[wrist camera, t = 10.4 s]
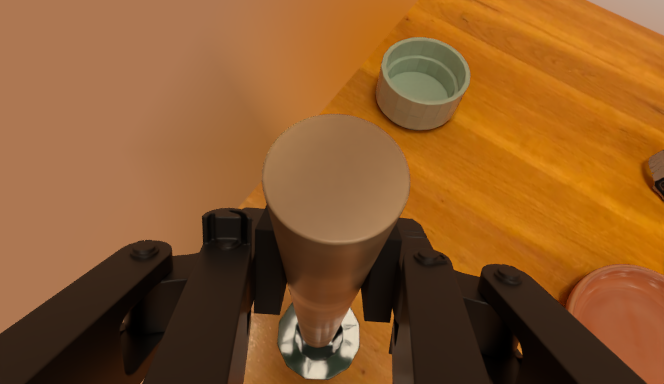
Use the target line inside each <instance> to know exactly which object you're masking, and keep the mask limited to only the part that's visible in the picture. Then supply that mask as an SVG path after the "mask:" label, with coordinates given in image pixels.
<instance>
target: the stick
mask: <svg viewBox="0 0 664 384" xmlns="http://www.w3.org/2000/svg"><path fill="white" fill-rule="evenodd" d="M262 186H263V191H264V195H265V199H266V203H267V207H268V210H269V214H270V218H271V222H272V226H273V229H274V233H275V237H276V241H277V245H278V248H279V252H280V256H281V260H282V264H283V267H284V271H285V275H286V279H287V283H288V286H289V290H290V294H291V298H292V302H293V305H294V309H295V313H296V317H297V321H298V324H299V328H300V332H301V336H302V338H303V340H304V341H305V342H306V343H307V344H308V345H310V346H312V347H316V348H320V347H324V346H326V345H328V344H329V343H330V342H331V341H332V339H333V338H334V336H335V334H336V332H337V330H338V328H339V327H340V325H341V323H342V321H343V319H344V317H345V316H346V314H347V312H348V310H349V308H350V306H351V305H352V303H353V301H354V299H355V297H356V295H357V294H358V292H359V290H360V288H361V286H362V284H363V283H364V281H365V279H366V277H367V275H368V273H369V272H370V270H371V268H372V266H373V264H374V262H375V261H376V259H377V257H378V255H379V253H380V251H381V250H382V248H383V246H384V244H385V242H386V240H387V239H388V237H389V235H390V233H391V231H392V230H393V228H394V226H395V224H396V222H397V220H398V219H399V217H400V215H401V213H402V211H403V209H404V207H405V205H406V203H407V199H408V196H409V191H410V173H409V168H408V165H407V161H406V159H405V157H404V155H403V152H402V151H401V149H400V148H399V146H398V145H397V143H396V142H395V141H394V140H393V139H392V138H391V137H390V136H389V135H388V134H387V133H386V132H385V131H383V130H382V129H381V128H379V127H378V126H376V125H374V124H373V123H371V122H368V121H366V120H364V119H361V118H358V117H354V116H350V115H343V114H325V115H318V116H314V117H310V118H307V119H304V120H302V121H300V122H298V123H296V124H295V125H293V126H291V127H290V128H288V129H287V130H286V131H284V132H283V133H282V134H281V135H280V136H279V137H278V138H277V139H276V141H275V142H274V143H273V145H272V146H271V148H270V150H269V152H268V154H267V156H266V159H265V162H264V165H263V170H262Z"/></svg>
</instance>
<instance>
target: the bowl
mask: <svg viewBox="0 0 664 384" xmlns="http://www.w3.org/2000/svg"><path fill="white" fill-rule="evenodd" d="M469 83H470V70H469V67H468V64H467V62H466V61H465V59H464V58H463V57H462V55H461V54H460V53H459V52H458V51H456V50H455V49H454V48H453V47H451V46H450V45H448V44H446V43H443V42H441V41H439V40H435V39H430V38H425V37H416V38H409V39H405V40H401V41H399V42H397V43H396V44H394V45H392V46H391V47H390V48H389V49H388V51H387V52H386V53H385V55H384V56H383V61H382V65H381V69H380V74H379V78H378V83H377V88H376V99H377V103H378V105H379V107H380V109H381V110H382V112H383V113H384V114H385V115H386V116H387V117H388V118H389V119H390V120H391V121H393V122H394V123H396V124H398V125H400V126H402V127H405V128H408V129H412V130H427V129H432V128H435V127H438V126H441V125H443V124H444V123H445V122H447V121H448V120H449V119H450V118H451V117H452V115H453V114H454V112H455V110H456V108H457V106H458V105H459V103H460V101H461V99H462V97H463V95H464V93H465V91H466V89H467V88H468V86H469Z"/></svg>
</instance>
